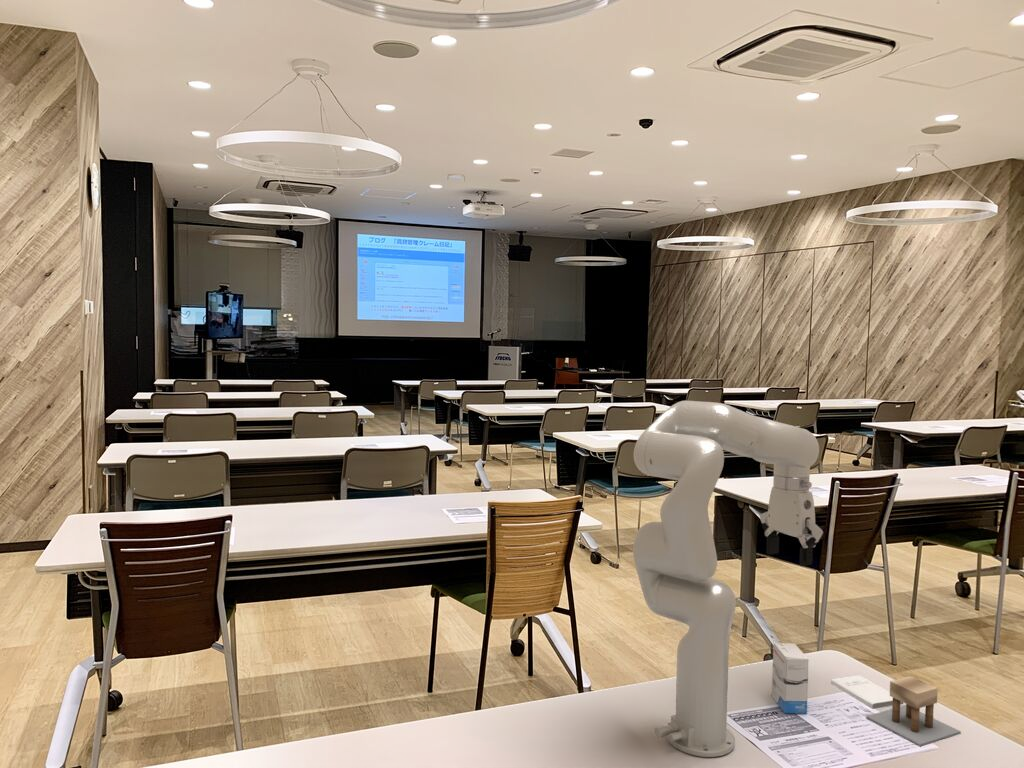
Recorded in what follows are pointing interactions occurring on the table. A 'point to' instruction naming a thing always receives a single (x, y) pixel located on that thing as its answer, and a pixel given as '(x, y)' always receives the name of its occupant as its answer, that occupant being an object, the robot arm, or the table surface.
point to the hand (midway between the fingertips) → (788, 559)
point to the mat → (904, 727)
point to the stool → (913, 700)
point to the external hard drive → (864, 691)
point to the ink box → (790, 678)
